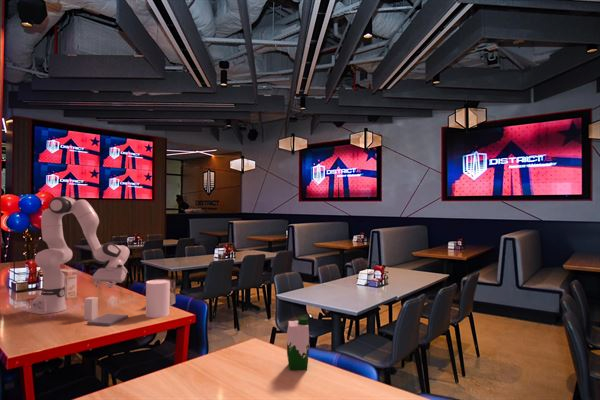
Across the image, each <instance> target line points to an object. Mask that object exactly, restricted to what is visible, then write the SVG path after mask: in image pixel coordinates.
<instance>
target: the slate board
mask: <svg viewBox="0 0 600 400" xmlns="http://www.w3.org/2000/svg"><path fill="white" fill-rule="evenodd" d="M128 318H129V314H116V313H115V314H114V313H105V314H103V315H101V316H98V318H95V319H93V320H87V325H91V326H103V327H111V326H113V325H115V324H118V323H120V322H122V321H124V320H126V319H128Z"/></svg>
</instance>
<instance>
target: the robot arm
mask: <svg viewBox="0 0 600 400" xmlns="http://www.w3.org/2000/svg"><path fill="white" fill-rule="evenodd" d="M70 214H71V215H72V214H73V215H74V216H75V218H76V219H77V221H78V224H79V225H80V227H81V229H82V233H83V237H84V238H85V240H86V243H87V244H88V247H89V249H90V251H91V257H92V259H93V261H94V262H95V263H97V264H98V265H99V264H100V265H102V264H103V265H104V264H106V263H107V262H108V263H107V264H106V266H105V267H100V268H98V269H97V270H96V271H95V273H93V275H92V277H91V279H92V280H93V282H95V284H94V287H95V288H98V287H99V286H100V284H99V283H103V282H104V283H109V284H108V286H107V287H108V288H109V289H112V288H113V287H114V286H115V285H117V283H123V282H124V281H125V280H126V279H125V278H126V276H127V273H128V269H127V268H126V267H125V266H124V265H125V264H126V262H127V261H128V258H129V256H130V253H131V252H130V248H128V247H127V246H126V245H123V244H122V245H118V244H115V243H114V242H105V243H104V244H103V245H101V243H100V241H99V238H98V237H97V229H98V227H99V225H100V219H99V215H98V214H97V212H96V211H95V209H94V208H93V207H92V205H91V204H90V203H89V202H88V201H87V200H86V199H78V200H77V199H76V198H74V197H69V196H57V197H56V196H55V197H53V198H51V199H50V201H49V203H48V208H46V209H44V210H42V213H41V221H40V225H41V228H40V229H41V236H42V237H41V239H42V241H44V242H45V243H46V245H47V247H48V249H47V248H46V249H43V250H41V251H39V252H37V253H36V255H35V257H34V262H35V265H37V266H38V267H39V268H40V270H41V272H42V277H43V284H42V285H43V288H41V289H40V294H39V295H38V296H37V297H36V298H34V299H33V300H31V303H30V308H27V309H26V310H25V313H31V314H36V315H37V314H38V315H45V314H53V313H59V312H64V311H66V310H67V308H68V307H67V303H66V299H65V295H64V294H65V286H64V273H62V272H61V270H60V269H61V267H60V265H63V264H65V263H68V262H69V261H70V260H72V259H73V250H72V249H71V248H70V247H69V246H68V245H67V243H66V240H65V237H64V230H63V220H62V219H63V217H64V216H69V215H70Z"/></svg>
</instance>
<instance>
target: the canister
mask: <svg viewBox="0 0 600 400" xmlns="http://www.w3.org/2000/svg"><path fill="white" fill-rule="evenodd" d="M169 280H170V279H151V280H147V281H146V282H145V283H146V285H145V317H146V318H153V319H159V318H164V317H167V316H169V315H170V306H169V305H170V281H169Z"/></svg>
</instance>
